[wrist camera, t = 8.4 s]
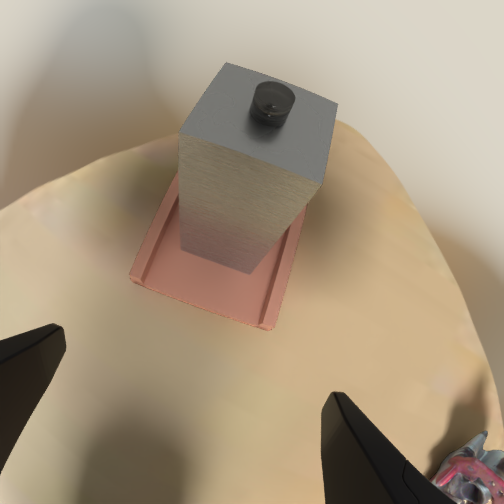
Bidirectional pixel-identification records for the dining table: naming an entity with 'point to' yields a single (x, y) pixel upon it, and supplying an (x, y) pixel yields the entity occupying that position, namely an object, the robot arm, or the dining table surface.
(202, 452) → the dining table surface
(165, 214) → the tray
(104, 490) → the dining table surface
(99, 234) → the dining table surface
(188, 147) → the knobbed tall block
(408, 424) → the dining table surface
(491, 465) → the brake caliper
